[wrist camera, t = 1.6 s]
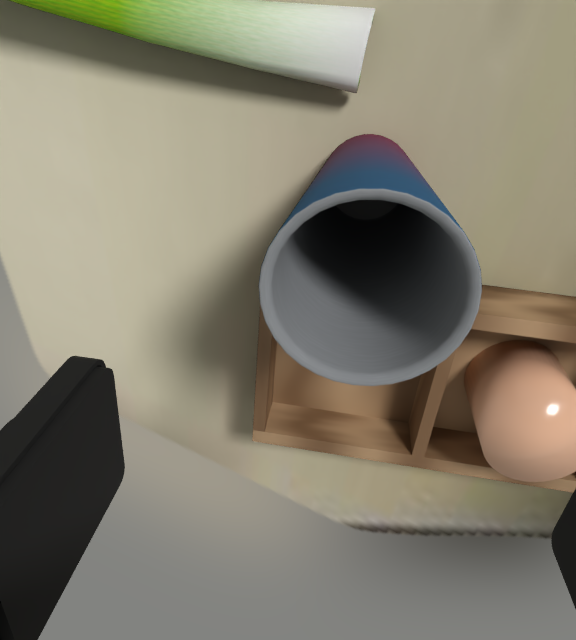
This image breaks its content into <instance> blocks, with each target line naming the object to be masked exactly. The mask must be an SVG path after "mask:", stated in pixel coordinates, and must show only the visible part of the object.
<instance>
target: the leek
mask: <svg viewBox="0 0 576 640" xmlns="http://www.w3.org/2000/svg"><path fill="white" fill-rule="evenodd" d="M9 1H13V2H16V3H19V4H22V5H25V6H28V7H32V8H35V9H39V10H42V11H45V12H49V13H52V14H56V15H59V16H62V17H66V18H69V19H73V20H76V21H80V22H83V23H86V24H90V25H93V26H97V27H100V28H103V29H107V30H110V31H114V32H117V33H120V34H123V35H126V36H130V37H133V38H136V39H139V40H142V41H145V42H149V43H153V44H157V45H161V46H165V47H169V48H173V49H177V50H180V51H184V52H188V53H192V54H196V55H200V56H204V57H208V58H212V59H216V60H220V61H224V62H227V63H231V64H235V65H239V66H243V67H247V68H251V69H255V70H259V71H264V72H268V73H272V74H276V75H281V76H285V77H289V78H293V79H297V80H302V81H306V82H310V83H314V84H319V85H323V86H327V87H331V88H336V89H340V90H344V91H348V92H353V93H357V90H358V86H359V82H360V74H361V68H362V63H363V58H364V54H365V49H366V45H367V41H368V36H369V32H370V28H371V25H372V22H373V17H374V13H375V8H364V7H348V6H333V5H318V4H303V3H288V2H273V1H259V0H9Z"/></svg>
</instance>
